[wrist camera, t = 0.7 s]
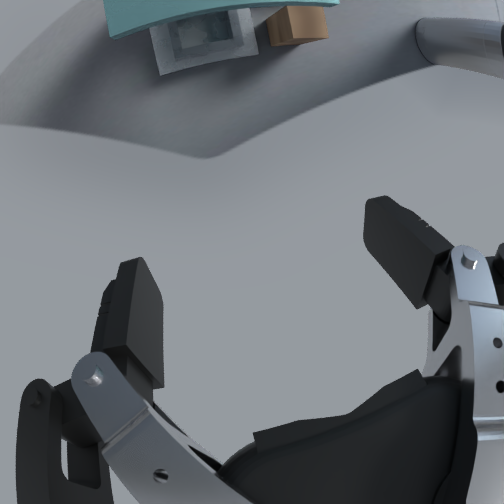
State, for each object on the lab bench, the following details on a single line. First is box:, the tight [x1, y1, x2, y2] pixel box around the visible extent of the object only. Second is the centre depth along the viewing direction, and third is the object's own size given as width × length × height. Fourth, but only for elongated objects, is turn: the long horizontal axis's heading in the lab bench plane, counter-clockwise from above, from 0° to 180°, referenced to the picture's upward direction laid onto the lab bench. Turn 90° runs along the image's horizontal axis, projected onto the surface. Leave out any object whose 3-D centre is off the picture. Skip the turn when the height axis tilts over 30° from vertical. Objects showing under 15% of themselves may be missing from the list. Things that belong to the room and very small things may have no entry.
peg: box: [266, 6, 329, 47], centre depth 23 cm, size 4×4×8 cm
